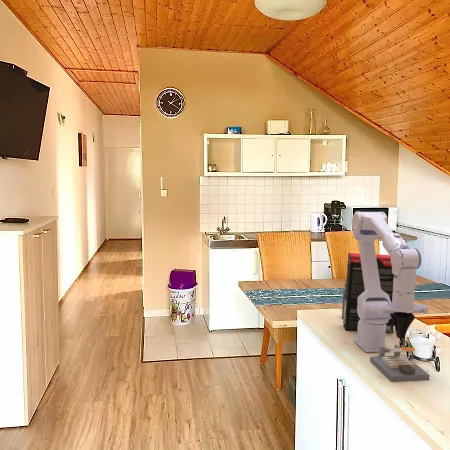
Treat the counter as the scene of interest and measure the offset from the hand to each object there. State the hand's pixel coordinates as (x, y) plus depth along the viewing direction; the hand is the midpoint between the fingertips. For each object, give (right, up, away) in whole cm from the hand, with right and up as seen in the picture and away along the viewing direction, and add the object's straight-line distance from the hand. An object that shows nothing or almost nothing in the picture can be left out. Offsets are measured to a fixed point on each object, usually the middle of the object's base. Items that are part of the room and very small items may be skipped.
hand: (400, 337), depth 130 cm
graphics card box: (+2, -6, +34) cm, 34 cm away
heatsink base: (0, -10, +1) cm, 10 cm away
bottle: (-2, -4, +45) cm, 46 cm away
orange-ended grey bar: (0, -4, +1) cm, 4 cm away
